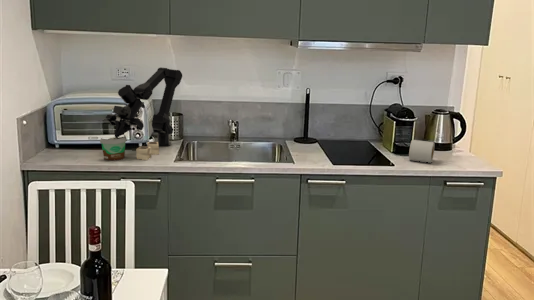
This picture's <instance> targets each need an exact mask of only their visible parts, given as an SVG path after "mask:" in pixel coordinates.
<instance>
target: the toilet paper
mask: <svg viewBox="0 0 534 300" xmlns="http://www.w3.org/2000/svg"><path fill="white" fill-rule="evenodd" d="M408 151H409V152H408V159H409V161H414V162H419V161H420V163H426V162H428V164H432V163H433V160H434V153H435V142H433V141H427V140H419V139H412V140H411V141H410V146H409V150H408ZM431 162H432V163H431Z"/></svg>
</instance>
